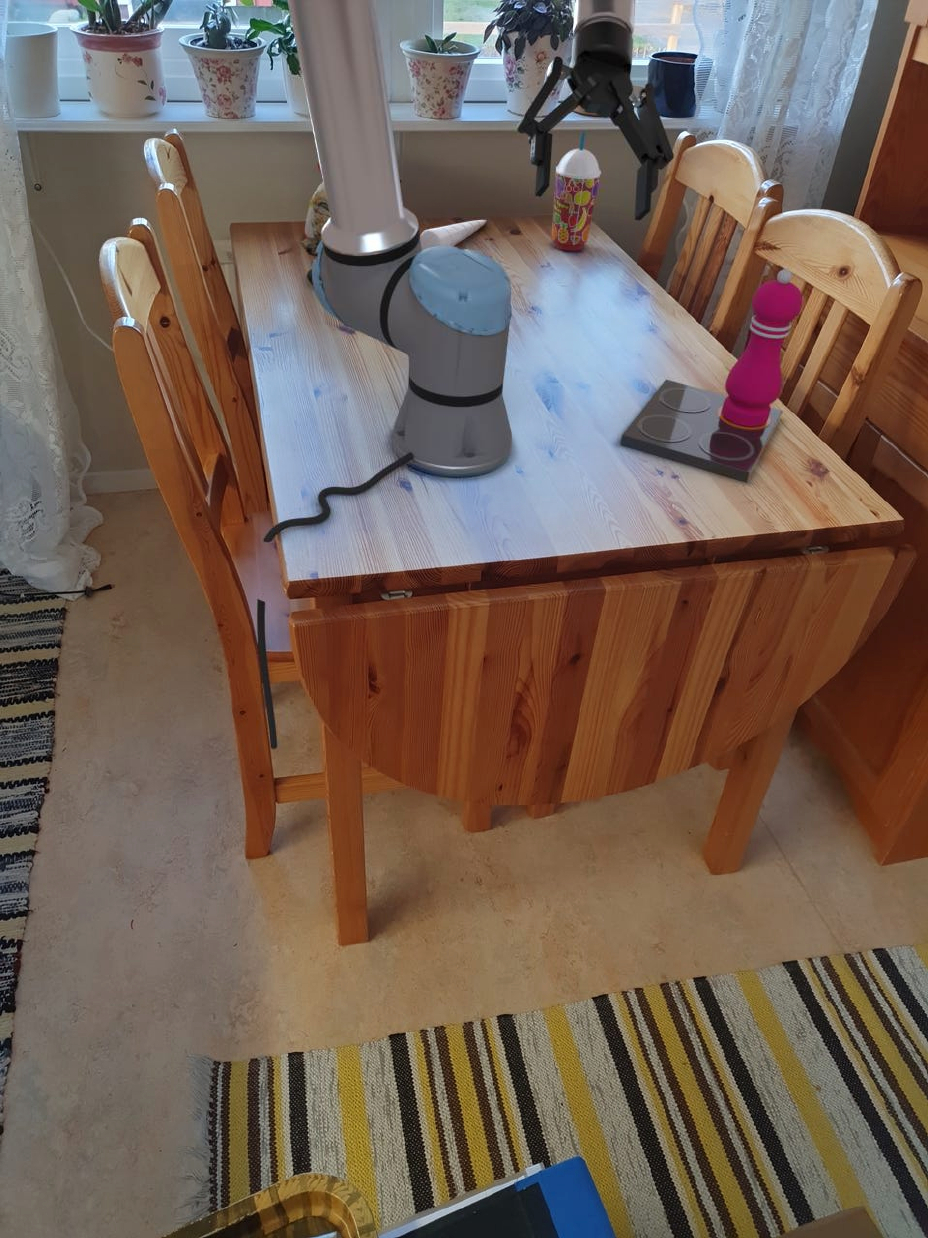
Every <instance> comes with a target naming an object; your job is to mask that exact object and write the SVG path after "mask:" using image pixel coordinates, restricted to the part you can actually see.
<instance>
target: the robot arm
mask: <svg viewBox="0 0 928 1238" xmlns="http://www.w3.org/2000/svg"><path fill="white" fill-rule="evenodd" d="M287 5H288V11H289V16H290V20H291V25H292V31H293V35H294V36H293V37H294V42H295V46H296V52H297V57H298V62H299V66H300V71H301V76H302V81H303V87H304V91H305V96H306V101H307V102H306V103H307V106H308V112H309V116H310V121H311V127H312V132H313V136H314V142H315V147H316V151H317V157H318V162H319V165H320V167H321V172H322V175H321V176H322V182H323V183H324V188H325V193H326V198H327V203H328V208H329V213H330V219H329V220H328V221H327V223H326V224H325V225H324V227H323V229H322V232H321V237H322V240H321V241H320V243H319V245H318V247H317V249H316V252H317V253H318V256H316V258H315V259H313V260H312V266H311V269H312V281H313V285H312V286H313V290H314V292H315V295H316V298H317V299H318V301H319V303H320V305H321V306H322V307H323V309H324V310H325V311H326V312H327V313H328V314H329V315H330V316H332V317H333V318H335V319H336V320H337V321H339V322H340V323H341V324H343V325H344V326H345V327H347V328H350V329H353V330H354V331H356V332H360V333H362V334H364V335H366V336H368V337H370V338H372V339H374V340H375V341H376V340H377V341H378V342H380V343H383V344H385V345H387V346H388V347H391V348H393V349H395V350H397V351H398V352H401V353H403V354H405V355H407V357H408V380H407V381H408V382H407V383H408V384H407V390H406V393H405V395H404V398H403V401H402V403H401V406H400V408H399V411H398V414H397V417H396V419H395V422H394V424H393V430H392V448H393V451H394V453H395V454H396V456H397V457H398V459H396V460H394V461H393V462H391V463H390V464H389V465H387V466H385V467H384V468H382V469H381V470H380V471H379V472H377V473H376V474H374V475H373V476H372V477H371V478H369V479H368V480H367V481H365V482H363V483H362V484H359V485H356V486H351V487H346V486H345V487H343V486H329V487H325V488H323V489H322V490H321V491H319V493H318V495H317V500H318V503H319V505H320V507H321V510H322V512H320V513H319V514H318V515H315V516H309V517H296V518H290V519H285V520H283V521H281V522H279V523H277V524H275V525H274V526H273V527H272V528H270V529H269V531H268V532H267V533H266V534H265V536H264V537H263V539H262V541H263V543H270V542H272V541H273V540H274V538H275V537H276V536H277V535H278V534H279V533H281V532H282V531H283V530H286V529H290V528H295V527H303V526H313V525H317V524H320V523H323V522H324V521H326V520H327V519H328V518H329V517H330V515H331V507H330V504H329V503H328V501H327V499H326V498H327V497H328V496H329V495H343V496H344V495H346V496H347V495H348V496H351V495H358V494H361V493H364V492H366V491H367V490H369V489H371V488H373V487H374V486H375V485H377V484H378V483H379V482H380V481H381V480H382V479H384V478H385V477H387V476H388V475H390V474H391V473H392V472H395V471H396V470H397V469H399V468H400V467H402V466H404V465H405V464H406V465H408V466H409V467H412V468H414V469H415V470H417V471H420V472H423V473H426V474H430V475H434V476H440V477H448V478H449V477H450V478H465V477H473V476H475V477H476V476H478V475H479V476H480V475H483V474H487V473H490V472H492V471H494V470H496V469H498V468H500V467H501V466H503V465H504V464H505V463H506V462H508V460H509V458H510V456H511V454H512V448H513V447H512V446H513V434H512V432H513V431H512V428H511V424H510V420H509V415H508V411H507V408H506V403H505V399H504V395H503V391H504V379H505V371H506V361H507V354H508V353H507V352H508V344H509V334H510V324H511V320H512V316H513V315H512V314H513V313H512V312H513V311H512V309H513V307H512V284H511V279H510V278H509V277H510V276H509V275H508V273H507V272H506V270H505V269H504V267H503V266H502V265H500V264H499V263H498V261H496V260H494V259H492V258H491V257H489V256H487V255H486V254H483V253H481V252H480V251H479V252H478V251H476V250H474V249H473V250H472V249H470V248H465V249H460V248H459V247H458V246H437V247H431V248H428V249H425V250H423V251H422V248H421V241H420V236H421V234H420V228H419V227H420V225H419V220H418V218H417V216H416V215H415V213H413V212H412V211H410V210H409V209H408V208H406V207H405V206H404V203H403V196H402V188H401V181H400V174H399V166H398V161H397V160H398V159H397V158H398V157H397V151H396V145H395V137H394V129H393V123H392V115H391V114H392V113H391V107H390V101H389V93H388V85H387V79H386V73H385V72H386V70H385V63H384V57H383V56H384V55H383V47H382V42H381V35H380V27H379V19H378V12H377V5H376V0H287ZM635 14H636V0H574V13H573V16H574V17H573V28H572V29H573V32H572V37H573V39H572V42H571V58H570V66H568V65H566V64H564V61H563V59H562V57H560V56H559V55H557V56H554V58H553V59H552V61H551V62H550V64H549V66H548V67H547V68H546V71H545V75H544V81H543V82H544V83H543V85H542V86H541V88H540V89H539V91H538V93H537V94H536V96H535V98H533V101H532V102H531V104H530V105H529V107H528V108H527V110H526V112H525V113H524V115H523V117H522V118H521V119H520V121H519V123H518V124H517V126H516V131H517V132H518V133H520V134H522V135H524V134H526V135H527V136H529V137H528V138H527V142H528V144H529V145H530V158H529V161H530V164H531V165H532V166H536V173H535V174H536V175H535V188H534V190H535V191H534V196H535V197H539V198H541V197H542V196H543V195H544V194H545V192H546V191H547V190H548V188H549V187H550V183H551V182H550V181H551V165H552V151H553V134H554V133H550V131H551V130H553V129H554V128H555V127H556V126H558V124H560V122H562V121H563V120H564V119H565V118H566V117H567V116H568V115H569V114H571V113H573V112H574V111H575V110H577V108H579V107H580V108H581V109H582V110H583V113H585V114H586V113H587V114H596V115H597V116H599V117H601V118H605V119H607V118H608V117H609V119H610V120H611V123H612V124H613V125H614V126H615V127H618V129H619V130H620V132H621V133H622V135H623V137H624V138H625V140H626V142H627V143H628V145H629V147H630V149H631V150H632V152H633V153H634V155H635V157H636V158H637V160H638V162H639V163H640V166H639V168H638V169H637V170H636V184H635V185H636V186H635V187H636V188H635V205H634V220H635V221H639V222H640V221H641V220H642V219H644V218H645V217H646V216H647V215H648V214H649V213H650V212H651V209H652V208H651V206H652V194H653V192H654V191H656V189H657V188H658V185H659V171H660V170H661V171H662V170H664V169H665V168H666V167H667V166H668V165H669V164H670V163H671V162H672V161H673V159H674V157H675V155H674V152H673V149H672V146H671V143H670V141H669V138H668V135H667V133H666V129H665V126H664V124H663V121H662V118H661V115H660V113H659V110H658V107H657V105H656V101H655V88H654V87H655V86H654V85H653V84H652V83H650V82H648V83H646V84H645V85H644V86H637V85H633V82H632V79H631V73H632V66H633V50H634V49H633V48H634V39H633V38H634V34H635V18H636V17H635V16H636V15H635ZM564 80H566V82H567V85H568V87H569V88H570V90H571V94H569V96H567V97H566V98H565V99H564V100H563V101H562V102H560V103H559V104H558V105H557V106H556V107H554V109H552V111H550V112H549V113H548V114H546V116H544V118H542V119H541V120H540V121H538V120H536V119H535V118H536V117H537V115H538V114H539V112H540V111H541V109H542V107H543V106H544V104H545V103H546V101H547V99H548V98H549V96H550V95H551V93H552V92H553V90H554V88H556V87H555V86H558V85H561V84H562V83H563V81H564ZM632 101H633V102H632ZM620 108H622V109H621V111H620V112H619V109H620ZM635 109H636V112H635ZM256 604H257V605H256V632H257V634H256V635H257V649H258V660H259V666H260V676H261V680H262V690H263V695H264V696H263V697H264V701H265V709H266V716H267V724H268V733H269V747H270V749H271V750H276V749H277V748H278V738H277V737H278V736H277V726H276V720H275V710H274V702H273V695H272V691H271V690H272V687H271V680H270V674H269V673H270V672H269V665H268V658H267V646H266V645H267V644H266V601H264V600H261V599H259V598H257V602H256Z"/></svg>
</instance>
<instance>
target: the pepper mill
mask: <svg viewBox="0 0 928 1238" xmlns="http://www.w3.org/2000/svg"><path fill="white" fill-rule="evenodd" d="M792 279H793V272H792V270H790V269H788V268H784V269H781V270H780V271H779V272H778V273H777V276H776V279H774V280H768V281H766V282H763V284H761V285H760V286H759V287H758V288H757V289H756V291H755V292H754V295H753V297H752V302H751V307H752V311H753V313H754V315H753V316H752V317H751V323H750V324H749V329H750V331H751V332H750V337H749V340H748V342H747V346H746V348H745V350H744V351H743V353H742V354H741V356H740V357H739V358H738V360H737V361H736V362H735V363H734V365H733V366H732V367H731V369H730V370H729V372H728V374H727V376H726V380H725V384H724V389H725V391H726V394H727V396H728V397H727V398H725V400H724V404H723V408H722V414H723V416H724V417H725V418H726V419H728V420H729V421H731V422H733V423H735V424H738V425H742V426H750V427H754V426H760V425H763V424H765V423H766V422H767V420H768V418H769V414H770V411H771V408H772V407H771V405H772V404H773V403H775V401H777V400H778V398H779V396H780V395H781V391H782V385H783V376H782V375H783V374H782V369H781V352H782V351H781V350H782V345H783V342H784V341H785V338H786V337H789V335H790V329H792V322H791V321H793V320H794V319H796V318H797V317H798V315H799V314H800V312H801V309H802V306H803V295H802V291H801V290H800V288H799V287H798V286H796V284H794V283H793V282H791V281H792Z"/></svg>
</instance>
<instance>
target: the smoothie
mask: <svg viewBox="0 0 928 1238" xmlns="http://www.w3.org/2000/svg"><path fill="white" fill-rule="evenodd" d="M585 138H586V132H585V131H581V134H580V143H579V147H578V148H573V149H571V150H569V151H568V152H567V153H565V154H564V155H563V156H562V158H561V159H560V161H559V163H558V164H557V166H556V167H555V176H554V177H555V178H554V194H553V209H552V227H551V240H553V246H554V247H555V248H556V249H558V250H562V251H565V252H576V251H580V250H582V249H583V248H584V247H585V244H586V243H587V242H588V239H589V233H590V227H591V223H592V218H593V213H594V209H595V204H596V199H597V194H598V189H599V184H600V179H601V175H602V171H601V170H600V166H599V162H598V160H597V158H596V156H595V155H594V154H593V152H591V151H589V150H588V149H585V148H584V145H585V144H584V143H585Z"/></svg>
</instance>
